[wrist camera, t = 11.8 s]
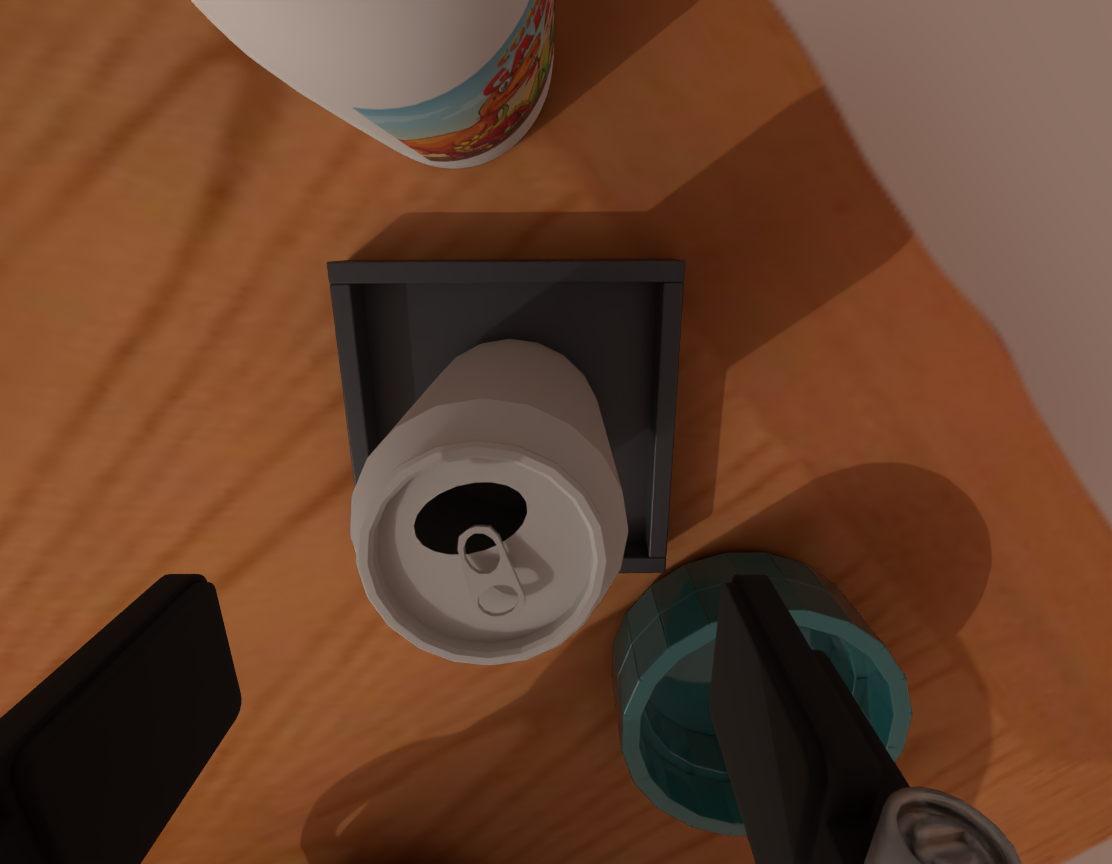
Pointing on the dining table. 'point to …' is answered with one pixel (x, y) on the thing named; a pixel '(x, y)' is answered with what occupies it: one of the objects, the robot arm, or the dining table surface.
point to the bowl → (686, 669)
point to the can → (492, 508)
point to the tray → (536, 316)
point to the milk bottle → (408, 66)
